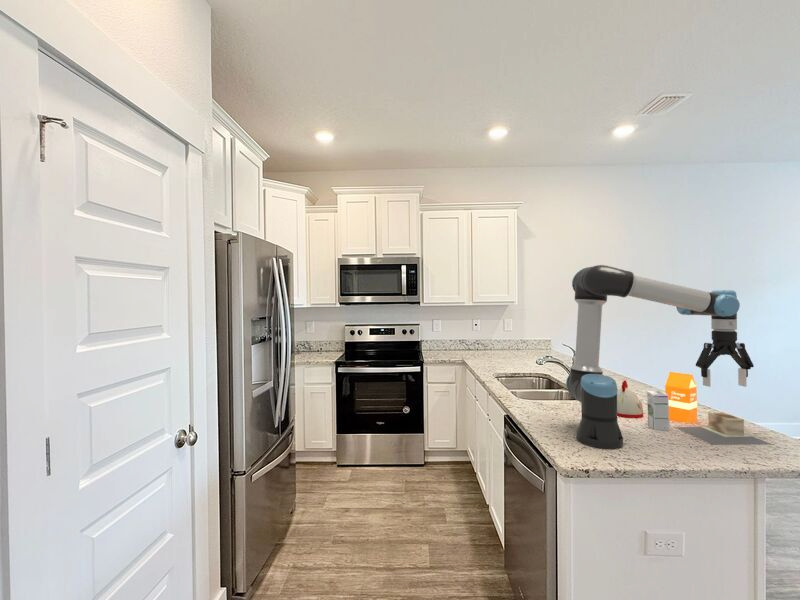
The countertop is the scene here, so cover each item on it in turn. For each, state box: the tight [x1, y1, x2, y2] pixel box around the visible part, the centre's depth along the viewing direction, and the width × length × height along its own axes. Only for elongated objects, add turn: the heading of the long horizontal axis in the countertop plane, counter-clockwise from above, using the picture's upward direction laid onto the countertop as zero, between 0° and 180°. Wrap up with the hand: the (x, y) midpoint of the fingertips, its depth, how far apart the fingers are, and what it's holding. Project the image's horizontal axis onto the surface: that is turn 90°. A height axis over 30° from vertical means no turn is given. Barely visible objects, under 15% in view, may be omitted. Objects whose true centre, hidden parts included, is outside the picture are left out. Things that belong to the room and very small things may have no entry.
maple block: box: [707, 412, 745, 436], centre depth 147 cm, size 9×6×6 cm, turn 0°
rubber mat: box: [673, 426, 772, 446], centre depth 144 cm, size 21×19×1 cm
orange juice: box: [664, 371, 698, 424], centre depth 164 cm, size 8×9×20 cm
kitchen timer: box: [617, 379, 644, 419], centre depth 174 cm, size 14×14×15 cm
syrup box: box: [646, 390, 671, 431], centre depth 153 cm, size 6×6×14 cm
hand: (724, 385), depth 147 cm, fingers open, 13 cm apart
